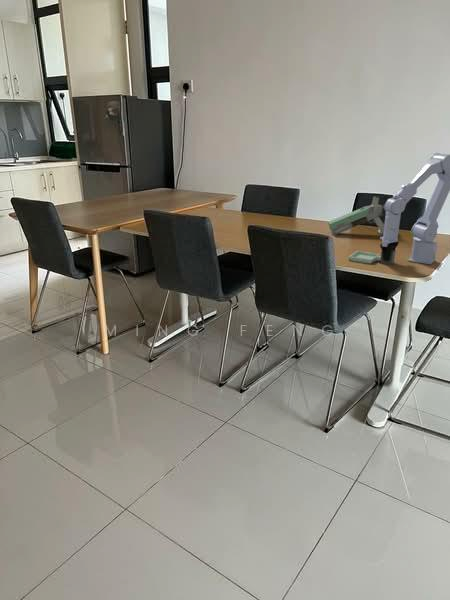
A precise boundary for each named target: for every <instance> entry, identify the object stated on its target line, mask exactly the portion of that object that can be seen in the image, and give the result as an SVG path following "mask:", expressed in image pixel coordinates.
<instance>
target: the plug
mask: <svg viewBox="0 0 450 600" xmlns="http://www.w3.org/2000/svg"><path fill="white" fill-rule="evenodd" d="M396 252H397V251H396V249H395V250H392V252H391V256H390V259H389V261H383V253H382V251H381V253H380V256H378V257H377V260H376V261H379V263H380V264H384V265H390V266H391V265H393V264H395V259H396Z"/></svg>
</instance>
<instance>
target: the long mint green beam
mask: <svg viewBox="0 0 450 600" xmlns="http://www.w3.org/2000/svg"><path fill="white" fill-rule="evenodd" d="M379 200H380V197H377V196H373V198H372V201H371V204H370V205H367V206H366V205H365V206H363V207H361V208H358V209H356V210H354V211H351V212H348V213H345V214H342V215H341V216H339V217H336V218H334V219H331V220H329V221H327V224H328V227H329V230H330V233H331V234H332V235H333V236H336V235H338V234H340V233H343V232H345V231H349V230H350V229H353V228H354V227H358V226H359V225H361V224H365V223H367V222H368V223H369V224H373V223H375V224H376V226H377V227H378V230H377V232H378V233H379V234H380V235H383V234H384V226H385V217H386V214H384V213H383V209H384V205H382V204H380V203H379Z"/></svg>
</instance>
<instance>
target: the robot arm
mask: <svg viewBox="0 0 450 600" xmlns="http://www.w3.org/2000/svg"><path fill="white" fill-rule="evenodd" d="M435 174H436V175H437V177H438V181H437V183H436V186H435V188H434V191H433V192H432V195H431V197H430V199H429V202H428V205H427V206H426V208H425V211H424V213H423V215H422V216H420V217H419V218H418V219H417V221H416V222H415V223H414V224H413V226H412V227H411V230H410V232H411V235H412V236H413V237H412V239H413V241H412V249H411V255H410V258H408V259H407V261H408V262H413V263H418V264H425V265H432V264H433V263H434V262H435V261H436V257H437V255H436V253H437V249H438V248H437V247H438V242H435V241H434V240H435V239H436V237H438V236H437V235H438V229H439V224H438V223H439V222H438V221H437V220H438V218H439V215H440V213H441V211H442V209H443V206H444V205H445V202H446V200H447V197H448V195H449V193H450V154H448V153H447V154H445V153H438V152H436V153H434V154H432V155H431V157H430V158H428V160H426V163H425V165H424V166H423V167H422V169H421V170H420V171H419V172H418V173H417V174H416V175H415V177H414V178H413V179H412V181H410V182H407V183H405V184H402V185H401V186H400V187H401V188H400V189H399V190H398V191H397V192H396V194H394V195H392V197H390V198H388V199H387V200H386V201H385V203H384V204H383V206H384V208H383V209H384V211H385V216H386V217H385V226H384V234H382V235H383V236H380V237H379V240H382V242H381V243H380V244H379V247H380V249H381V252H382V253H383V261H389V259H390V256H391V252H392V250H396V248H397V247H398V245H399V244H400V243H399V241H398V240H399V238H398V237H399V232H400V231H399V230H400V222H401V214H402V213H403V212H404V211H405V208H406V206H407V203H409V201H411V199H412V198H414V197H415V195H416V194H417V193H418V188H419V187H420V186H421V185H423V183H424V182H425V181H426V180H428V179H429V178H430V177H431V176H432V175H435Z"/></svg>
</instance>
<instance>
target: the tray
mask: <svg viewBox="0 0 450 600" xmlns="http://www.w3.org/2000/svg"><path fill="white" fill-rule="evenodd" d="M378 256H381V253H375V252H369V251H362V250H356V251H355V252H354V253H352V254H350V255H348V261H350V262H355V263H363V264H368V265H372V264H373V263H375V262H376V261H378V260H377V257H378Z"/></svg>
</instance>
